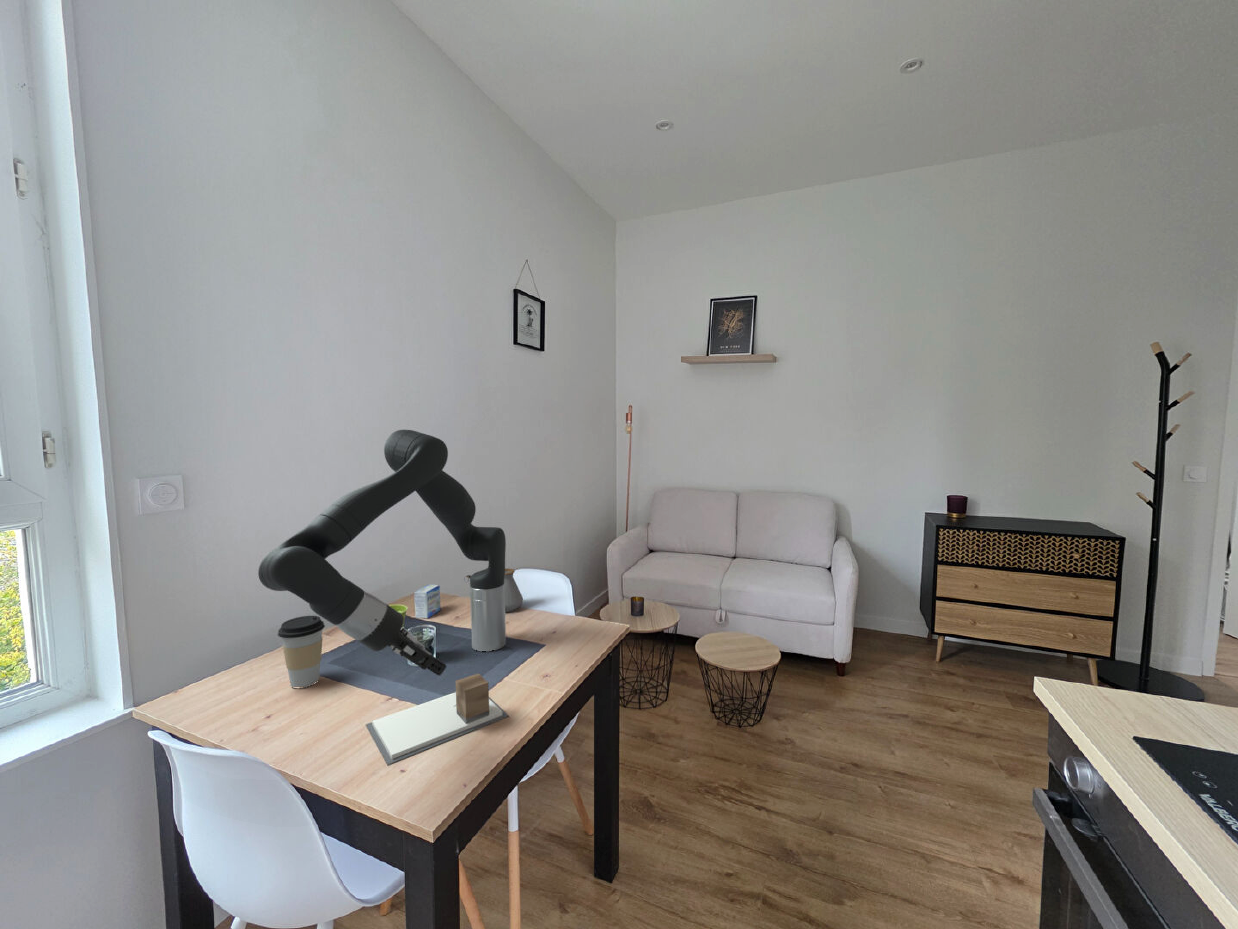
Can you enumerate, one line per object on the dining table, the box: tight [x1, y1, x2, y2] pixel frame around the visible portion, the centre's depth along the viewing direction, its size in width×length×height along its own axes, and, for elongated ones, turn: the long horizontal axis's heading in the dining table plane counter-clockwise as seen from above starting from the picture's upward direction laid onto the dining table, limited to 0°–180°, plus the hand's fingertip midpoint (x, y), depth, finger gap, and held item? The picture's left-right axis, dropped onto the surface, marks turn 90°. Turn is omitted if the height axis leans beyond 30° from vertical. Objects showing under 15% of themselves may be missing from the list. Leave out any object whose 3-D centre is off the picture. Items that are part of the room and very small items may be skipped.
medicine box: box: [413, 584, 441, 620], centre depth 164 cm, size 8×4×9 cm, turn 168°
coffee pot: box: [463, 568, 524, 613], centre depth 165 cm, size 21×12×15 cm, turn 143°
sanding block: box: [455, 673, 490, 724], centre depth 105 cm, size 5×5×7 cm
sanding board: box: [365, 691, 510, 766], centre depth 104 cm, size 16×24×1 cm, turn 129°
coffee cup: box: [277, 615, 325, 688], centre depth 120 cm, size 9×9×15 cm
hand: (434, 662), depth 99 cm, fingers open, 8 cm apart
